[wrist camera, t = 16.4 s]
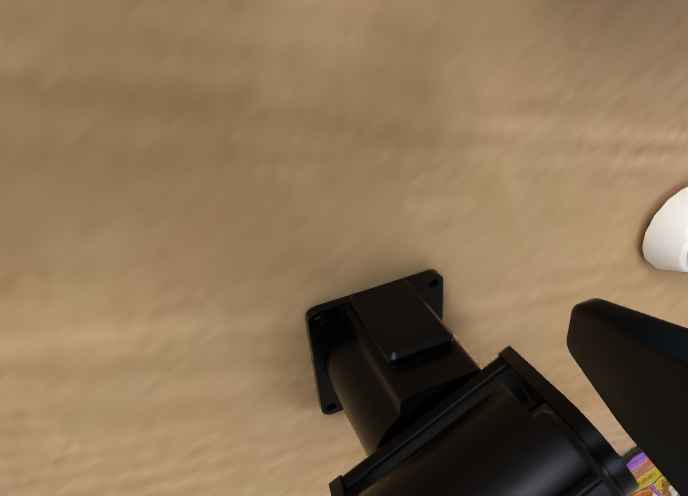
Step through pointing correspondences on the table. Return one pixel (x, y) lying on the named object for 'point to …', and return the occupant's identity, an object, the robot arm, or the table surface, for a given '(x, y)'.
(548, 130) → the table surface
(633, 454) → the candy box
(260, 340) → the table surface
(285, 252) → the table surface
